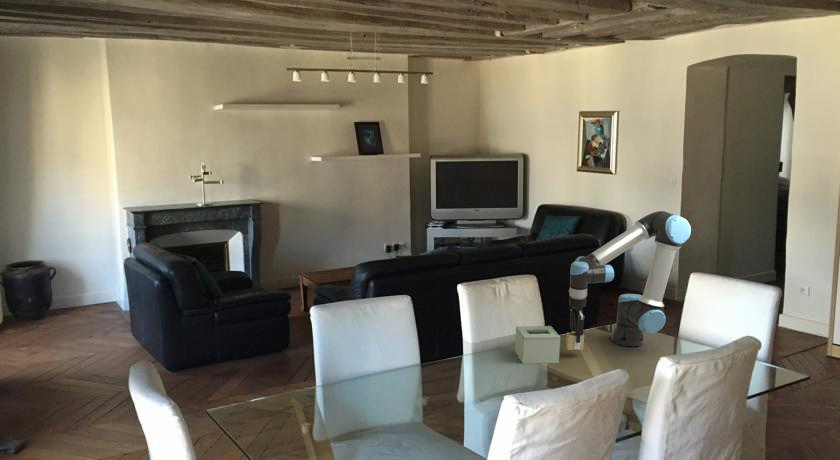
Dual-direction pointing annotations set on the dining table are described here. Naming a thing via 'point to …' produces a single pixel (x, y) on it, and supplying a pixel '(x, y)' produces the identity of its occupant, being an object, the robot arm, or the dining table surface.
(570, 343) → the tan wooden block
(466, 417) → the dining table surface
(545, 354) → the box
